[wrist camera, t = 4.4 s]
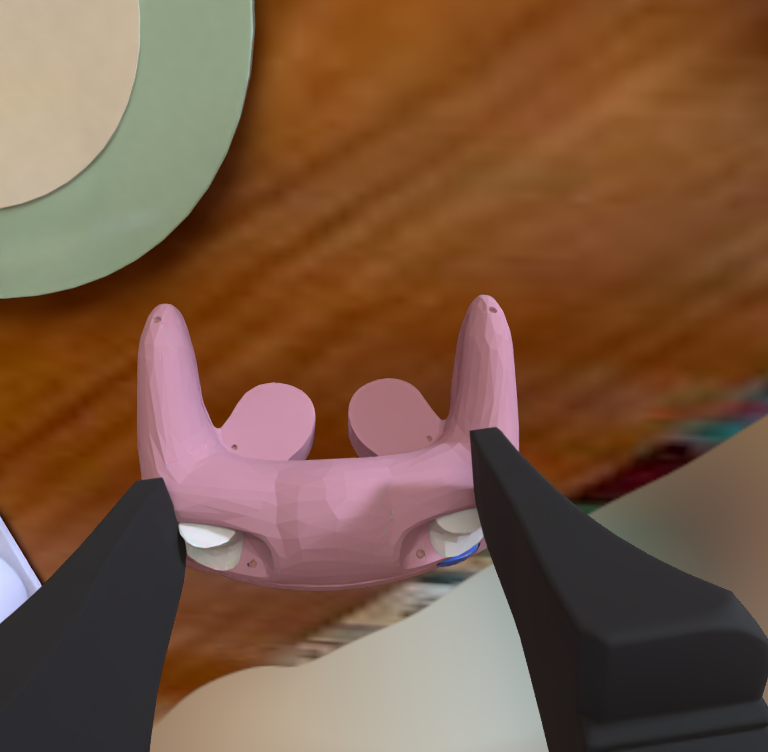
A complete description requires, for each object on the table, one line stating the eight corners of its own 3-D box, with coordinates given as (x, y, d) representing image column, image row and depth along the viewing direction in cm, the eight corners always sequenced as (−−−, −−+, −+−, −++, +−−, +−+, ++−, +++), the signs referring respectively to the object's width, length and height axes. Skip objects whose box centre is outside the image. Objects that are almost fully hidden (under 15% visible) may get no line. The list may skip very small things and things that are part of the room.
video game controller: (171, 382, 21) (145, 616, 17) (130, 287, 17) (85, 563, 13) (484, 370, 21) (524, 591, 18) (514, 277, 17) (575, 535, 14)
